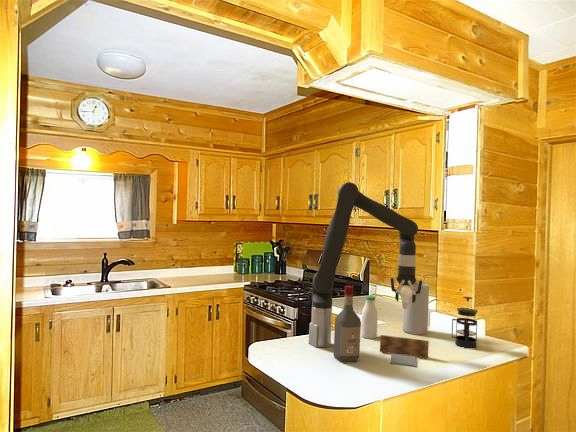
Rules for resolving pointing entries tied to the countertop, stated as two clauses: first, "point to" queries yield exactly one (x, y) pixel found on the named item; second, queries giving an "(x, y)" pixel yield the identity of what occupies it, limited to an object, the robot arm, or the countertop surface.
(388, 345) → the brown wooden block
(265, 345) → the countertop surface
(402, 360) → the mat
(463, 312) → the french press
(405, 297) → the lightbulb
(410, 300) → the cylinder vase
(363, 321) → the milk bottle
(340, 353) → the liquor
